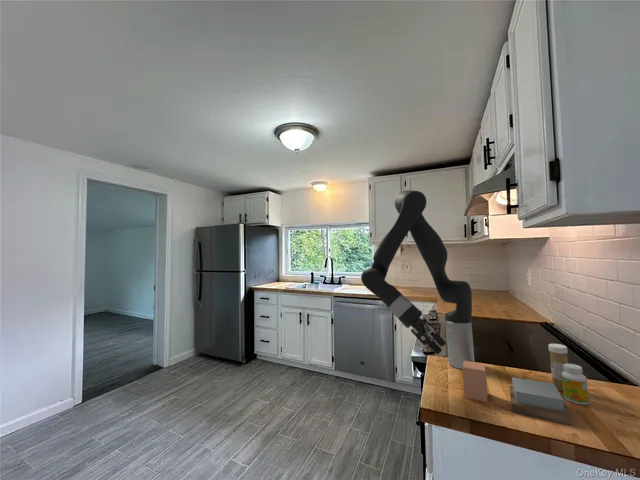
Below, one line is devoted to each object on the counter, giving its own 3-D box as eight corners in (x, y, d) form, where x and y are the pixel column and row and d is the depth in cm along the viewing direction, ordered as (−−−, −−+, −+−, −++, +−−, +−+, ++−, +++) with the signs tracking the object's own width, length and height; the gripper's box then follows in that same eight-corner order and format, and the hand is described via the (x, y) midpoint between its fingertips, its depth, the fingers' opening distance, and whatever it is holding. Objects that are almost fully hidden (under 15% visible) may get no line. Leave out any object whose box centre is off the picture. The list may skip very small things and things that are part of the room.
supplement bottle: (559, 398, 80) (556, 364, 81) (570, 394, 82) (567, 361, 83) (582, 406, 75) (578, 370, 76) (593, 402, 77) (589, 367, 78)
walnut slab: (510, 395, 84) (509, 385, 84) (561, 405, 78) (559, 394, 78) (513, 415, 74) (512, 403, 74) (571, 428, 67) (570, 415, 68)
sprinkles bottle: (554, 384, 89) (550, 342, 90) (572, 388, 86) (568, 345, 87) (550, 388, 86) (546, 345, 87) (570, 393, 83) (565, 348, 84)
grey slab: (512, 387, 83) (511, 377, 83) (555, 394, 78) (554, 383, 78) (516, 402, 74) (515, 391, 75) (564, 411, 69) (563, 399, 70)
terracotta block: (465, 389, 88) (463, 360, 89) (487, 393, 85) (485, 363, 85) (464, 397, 83) (462, 367, 83) (487, 402, 80) (484, 370, 80)
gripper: (406, 307, 89) (447, 347, 82) (416, 301, 101) (453, 335, 94) (391, 322, 92) (430, 362, 85) (403, 314, 104) (437, 349, 97)
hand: (442, 348), depth 89 cm, fingers open, 8 cm apart
